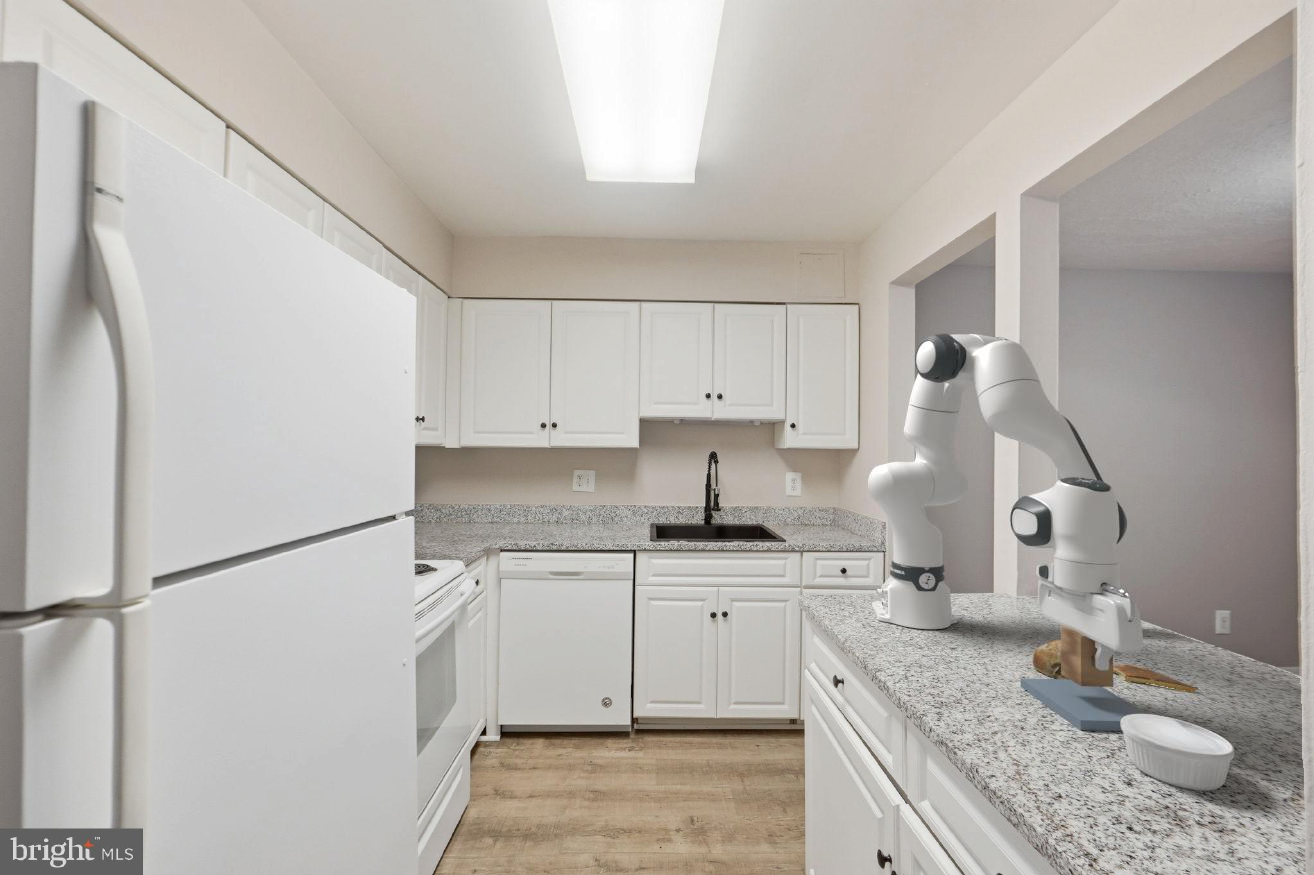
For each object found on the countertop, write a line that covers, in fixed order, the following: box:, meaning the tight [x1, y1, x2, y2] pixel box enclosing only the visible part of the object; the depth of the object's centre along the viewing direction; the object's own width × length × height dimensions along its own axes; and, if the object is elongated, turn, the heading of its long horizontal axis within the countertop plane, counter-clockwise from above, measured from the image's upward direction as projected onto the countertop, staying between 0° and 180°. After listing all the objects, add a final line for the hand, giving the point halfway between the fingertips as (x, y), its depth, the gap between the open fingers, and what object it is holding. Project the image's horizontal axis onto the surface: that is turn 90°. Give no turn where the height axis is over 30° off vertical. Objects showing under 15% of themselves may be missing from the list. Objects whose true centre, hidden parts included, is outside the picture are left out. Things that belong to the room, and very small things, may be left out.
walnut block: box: [1060, 627, 1114, 688], centre depth 97 cm, size 5×5×8 cm
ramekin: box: [1120, 713, 1235, 792], centre depth 78 cm, size 11×11×5 cm
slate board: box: [1020, 677, 1149, 732], centre depth 97 cm, size 16×12×2 cm
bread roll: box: [1032, 639, 1070, 680], centre depth 112 cm, size 10×10×8 cm
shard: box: [1113, 664, 1199, 693], centre depth 108 cm, size 11×8×2 cm
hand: (1086, 661), depth 97 cm, fingers closed on walnut block, 5 cm apart
